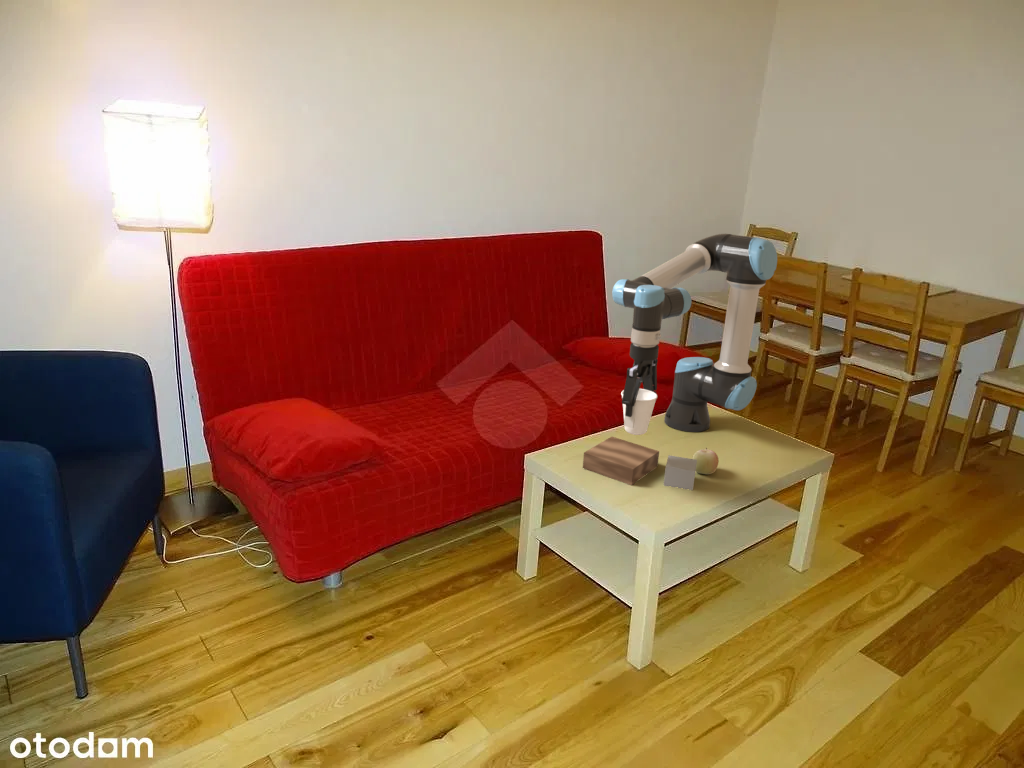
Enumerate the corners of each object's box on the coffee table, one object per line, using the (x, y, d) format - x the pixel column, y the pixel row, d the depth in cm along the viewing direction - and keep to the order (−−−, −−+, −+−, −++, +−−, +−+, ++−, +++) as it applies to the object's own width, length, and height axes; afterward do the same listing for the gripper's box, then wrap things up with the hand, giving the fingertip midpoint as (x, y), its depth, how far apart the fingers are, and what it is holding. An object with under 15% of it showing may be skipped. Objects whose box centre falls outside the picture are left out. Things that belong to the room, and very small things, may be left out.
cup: (610, 428, 201) (613, 392, 197) (635, 421, 206) (638, 385, 203) (636, 441, 193) (639, 403, 190) (661, 433, 199) (665, 396, 195)
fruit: (709, 480, 204) (713, 454, 201) (686, 472, 208) (689, 447, 206) (721, 472, 209) (725, 447, 206) (699, 464, 214) (702, 439, 211)
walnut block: (610, 451, 220) (611, 436, 218) (657, 466, 211) (659, 451, 209) (582, 468, 208) (583, 452, 206) (631, 485, 199) (633, 469, 197)
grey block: (666, 474, 207) (668, 455, 205) (694, 478, 205) (697, 459, 203) (663, 485, 200) (665, 466, 198) (692, 490, 197) (695, 471, 195)
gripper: (638, 355, 181) (631, 436, 188) (674, 337, 197) (666, 413, 205) (612, 349, 185) (606, 429, 192) (650, 332, 202) (642, 407, 209)
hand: (637, 421), depth 199 cm, fingers closed on cup, 9 cm apart
